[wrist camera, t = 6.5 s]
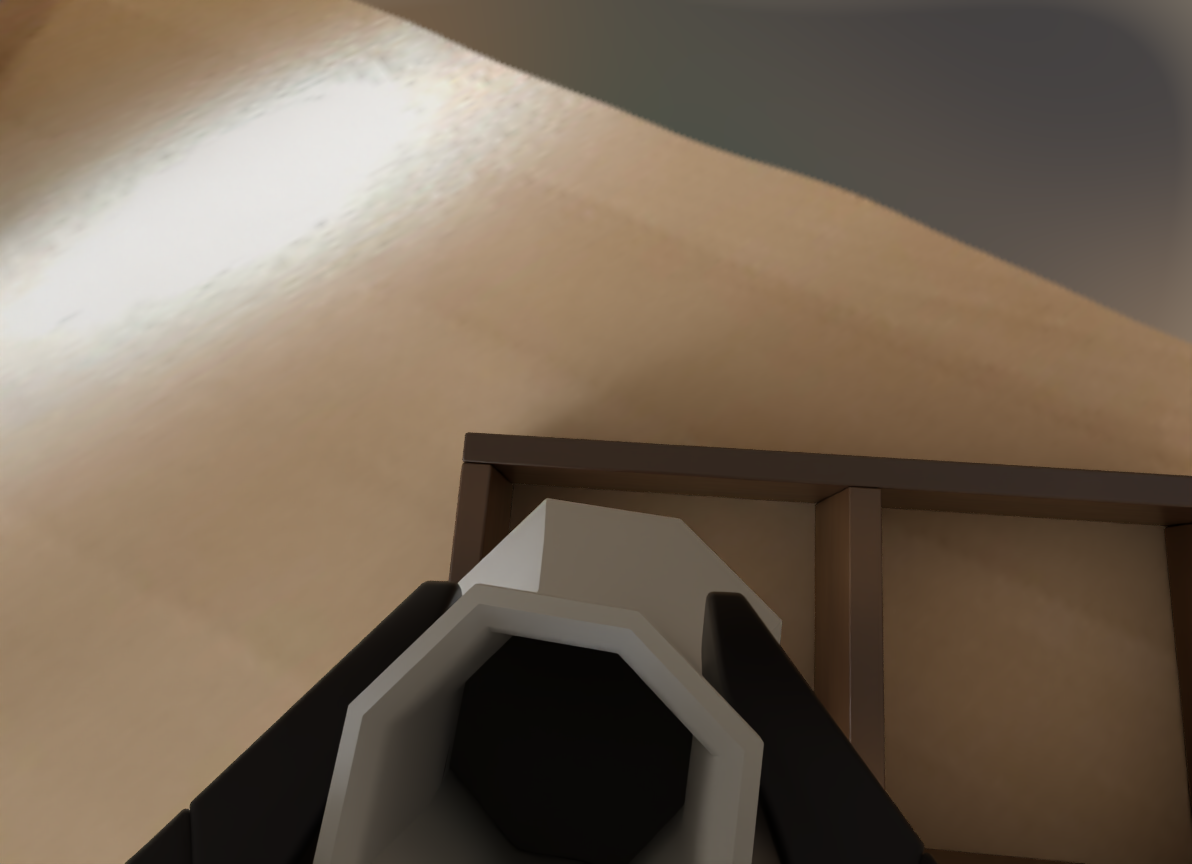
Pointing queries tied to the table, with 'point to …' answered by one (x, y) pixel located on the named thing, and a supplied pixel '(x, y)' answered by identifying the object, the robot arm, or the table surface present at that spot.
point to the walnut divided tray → (837, 536)
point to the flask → (556, 712)
